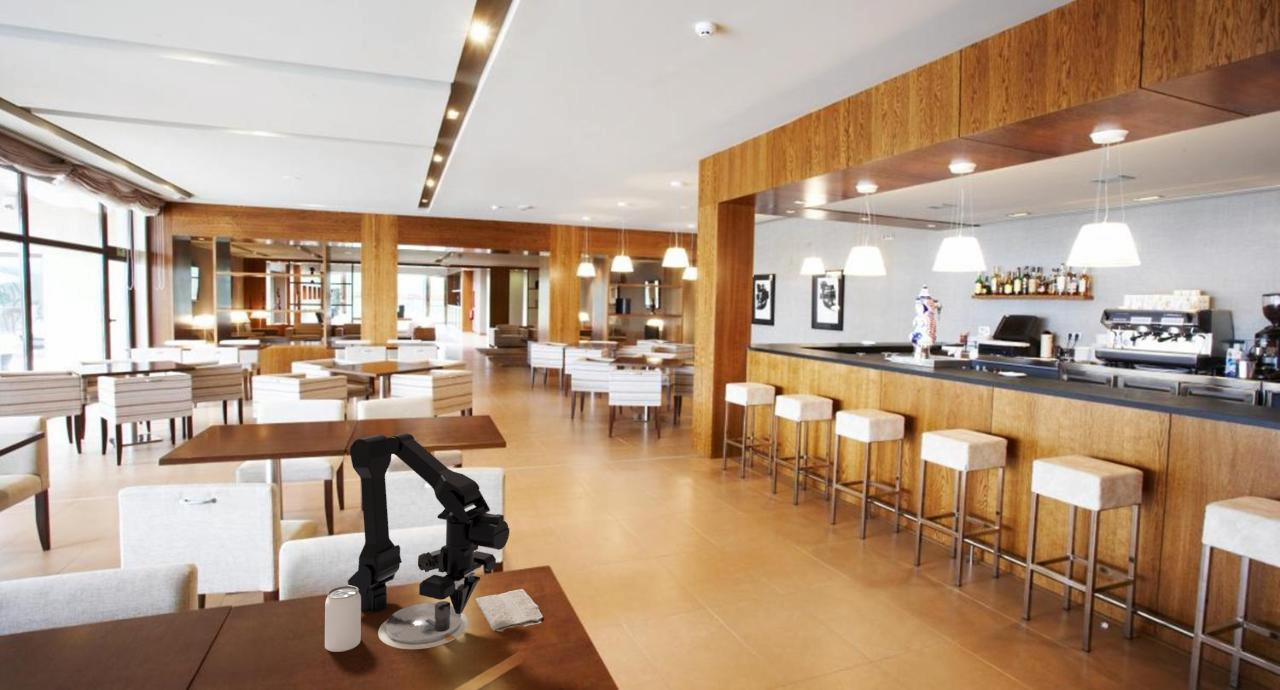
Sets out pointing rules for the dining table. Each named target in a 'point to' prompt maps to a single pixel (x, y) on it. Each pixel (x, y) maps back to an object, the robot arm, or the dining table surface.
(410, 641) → the dial
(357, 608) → the can
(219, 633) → the dining table surface
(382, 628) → the dial base
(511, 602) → the washcloth
